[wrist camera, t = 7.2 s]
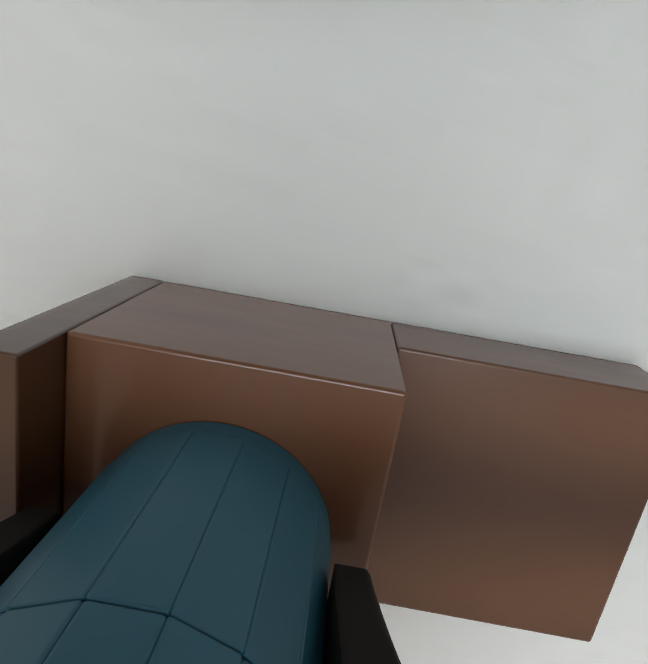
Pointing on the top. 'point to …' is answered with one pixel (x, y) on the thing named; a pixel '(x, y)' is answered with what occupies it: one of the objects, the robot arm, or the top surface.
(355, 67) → the top surface
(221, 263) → the top surface
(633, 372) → the step shelf
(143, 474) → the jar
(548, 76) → the top surface
